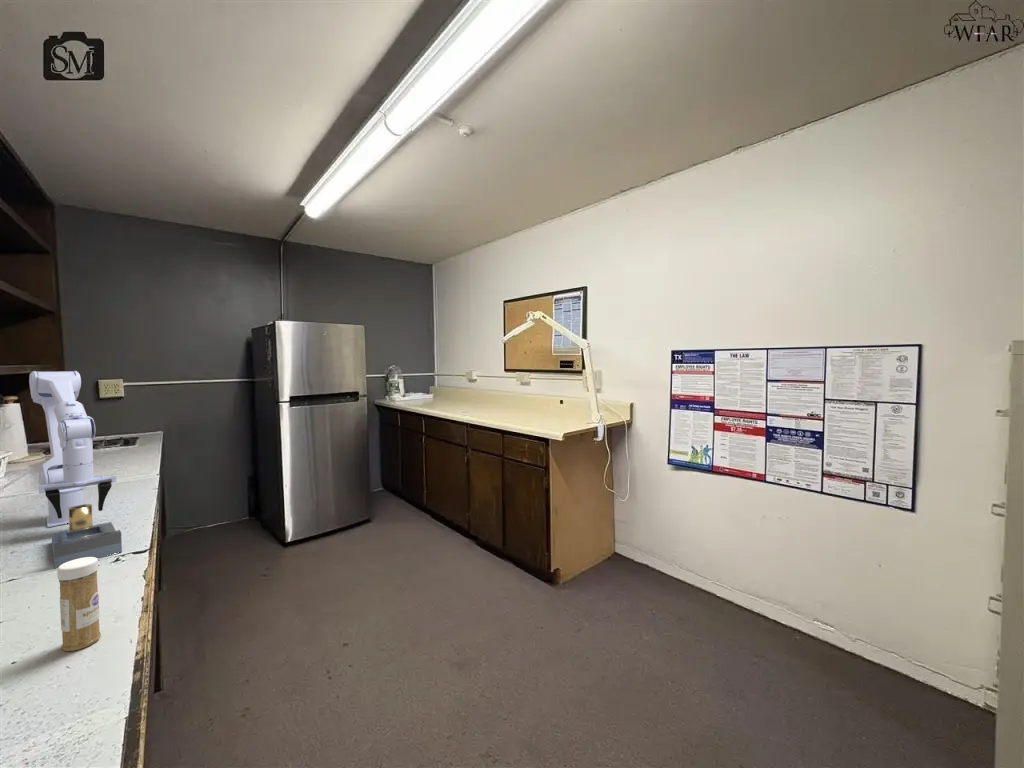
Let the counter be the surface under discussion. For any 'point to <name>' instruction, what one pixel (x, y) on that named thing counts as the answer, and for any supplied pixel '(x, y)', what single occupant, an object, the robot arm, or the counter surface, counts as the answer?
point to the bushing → (80, 516)
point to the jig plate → (82, 535)
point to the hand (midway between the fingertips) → (80, 513)
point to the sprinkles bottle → (79, 603)
